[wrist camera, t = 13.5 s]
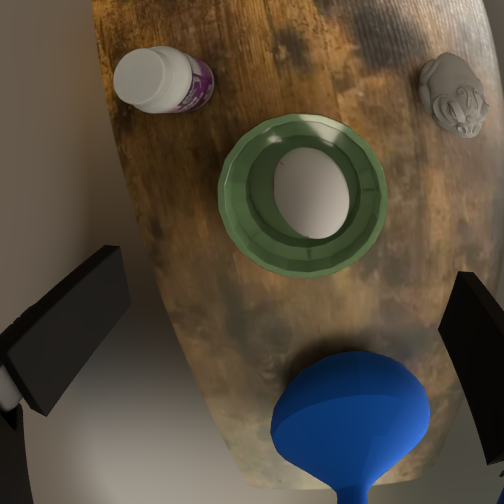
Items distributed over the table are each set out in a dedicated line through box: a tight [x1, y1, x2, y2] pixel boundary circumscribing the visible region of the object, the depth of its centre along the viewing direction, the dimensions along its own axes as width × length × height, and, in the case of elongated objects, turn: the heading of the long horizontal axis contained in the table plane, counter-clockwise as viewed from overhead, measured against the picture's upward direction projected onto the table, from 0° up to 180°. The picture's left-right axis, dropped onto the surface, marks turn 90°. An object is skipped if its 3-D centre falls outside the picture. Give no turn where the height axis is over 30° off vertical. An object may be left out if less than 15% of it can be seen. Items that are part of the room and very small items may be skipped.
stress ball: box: [271, 147, 349, 239], centre depth 26 cm, size 8×8×7 cm
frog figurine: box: [418, 52, 489, 138], centre depth 19 cm, size 6×7×7 cm
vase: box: [270, 351, 431, 504], centre depth 28 cm, size 18×18×19 cm
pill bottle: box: [113, 46, 214, 113], centre depth 21 cm, size 5×5×10 cm
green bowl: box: [218, 113, 388, 278], centre depth 26 cm, size 13×13×5 cm
